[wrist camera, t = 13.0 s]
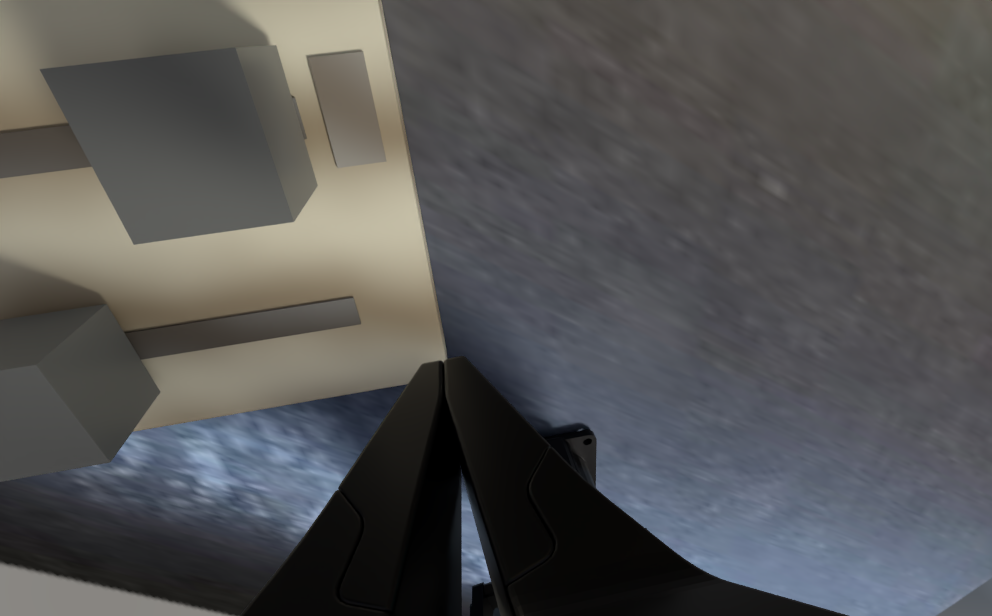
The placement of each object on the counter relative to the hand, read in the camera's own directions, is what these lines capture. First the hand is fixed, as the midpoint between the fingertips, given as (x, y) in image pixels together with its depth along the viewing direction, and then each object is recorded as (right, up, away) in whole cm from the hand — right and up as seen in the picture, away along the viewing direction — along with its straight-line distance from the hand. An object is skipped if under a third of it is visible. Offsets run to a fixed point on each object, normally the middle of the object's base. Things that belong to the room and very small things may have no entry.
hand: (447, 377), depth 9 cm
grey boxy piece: (-14, -1, +8) cm, 16 cm away
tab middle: (-7, +7, +5) cm, 11 cm away
